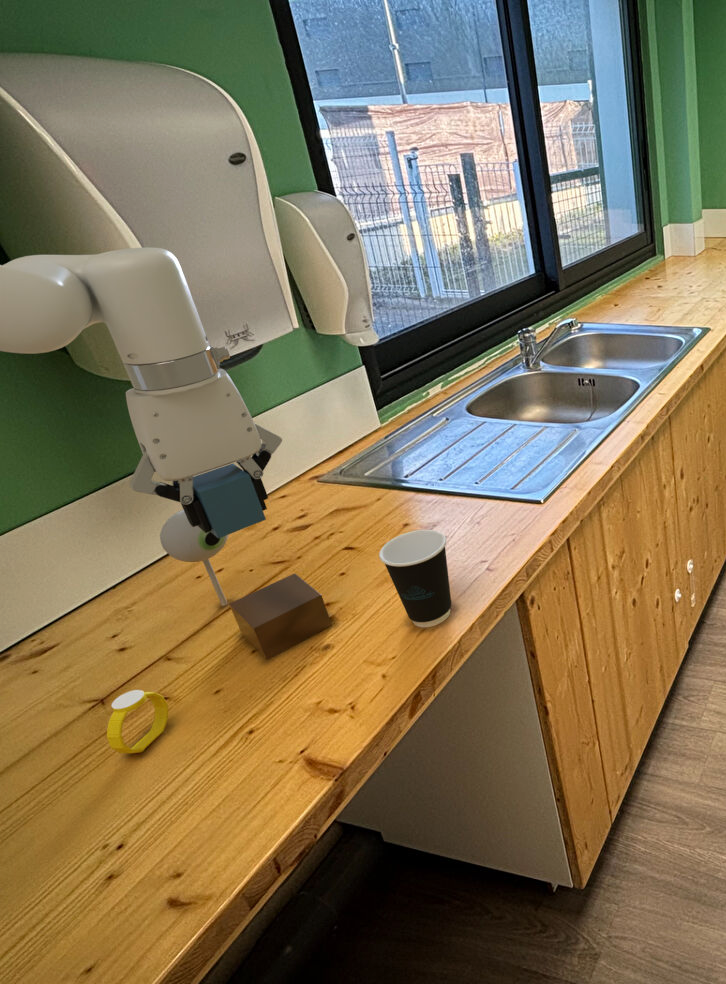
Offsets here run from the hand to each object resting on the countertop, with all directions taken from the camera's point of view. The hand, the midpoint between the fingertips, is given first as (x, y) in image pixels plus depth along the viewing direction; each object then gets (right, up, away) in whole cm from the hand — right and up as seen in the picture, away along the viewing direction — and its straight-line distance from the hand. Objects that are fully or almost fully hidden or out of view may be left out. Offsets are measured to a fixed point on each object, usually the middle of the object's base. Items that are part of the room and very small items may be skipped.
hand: (232, 516), depth 81 cm
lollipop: (-12, -14, +15) cm, 24 cm away
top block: (0, -1, 0) cm, 1 cm away
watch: (-5, -24, -6) cm, 25 cm away
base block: (0, -16, +10) cm, 19 cm away
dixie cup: (+19, -15, +11) cm, 26 cm away
